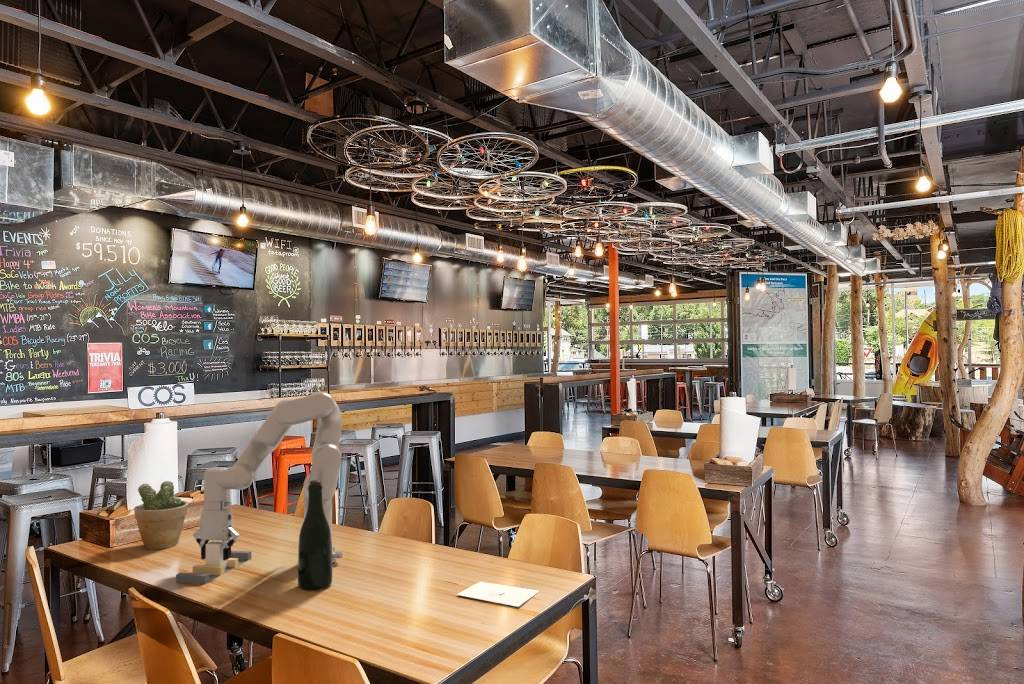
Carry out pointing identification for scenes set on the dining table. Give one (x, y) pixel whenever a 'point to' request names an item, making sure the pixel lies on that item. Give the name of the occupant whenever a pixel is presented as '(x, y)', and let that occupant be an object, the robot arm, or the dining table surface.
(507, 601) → the paper sheet
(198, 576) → the notch rail
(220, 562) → the frame block
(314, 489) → the beer bottle
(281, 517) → the dining table surface
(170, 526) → the potted plant
